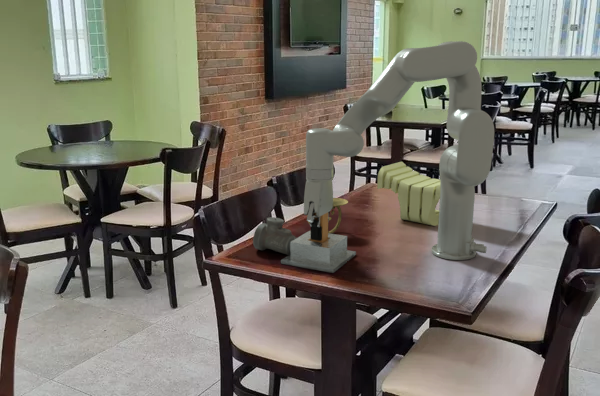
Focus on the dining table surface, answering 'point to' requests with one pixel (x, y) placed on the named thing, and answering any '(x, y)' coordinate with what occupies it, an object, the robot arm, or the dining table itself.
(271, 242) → the pipe fitting
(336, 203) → the wall sconce
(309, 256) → the square hole block
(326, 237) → the orange rectangular block
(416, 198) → the slatted curved stool
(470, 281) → the dining table surface
